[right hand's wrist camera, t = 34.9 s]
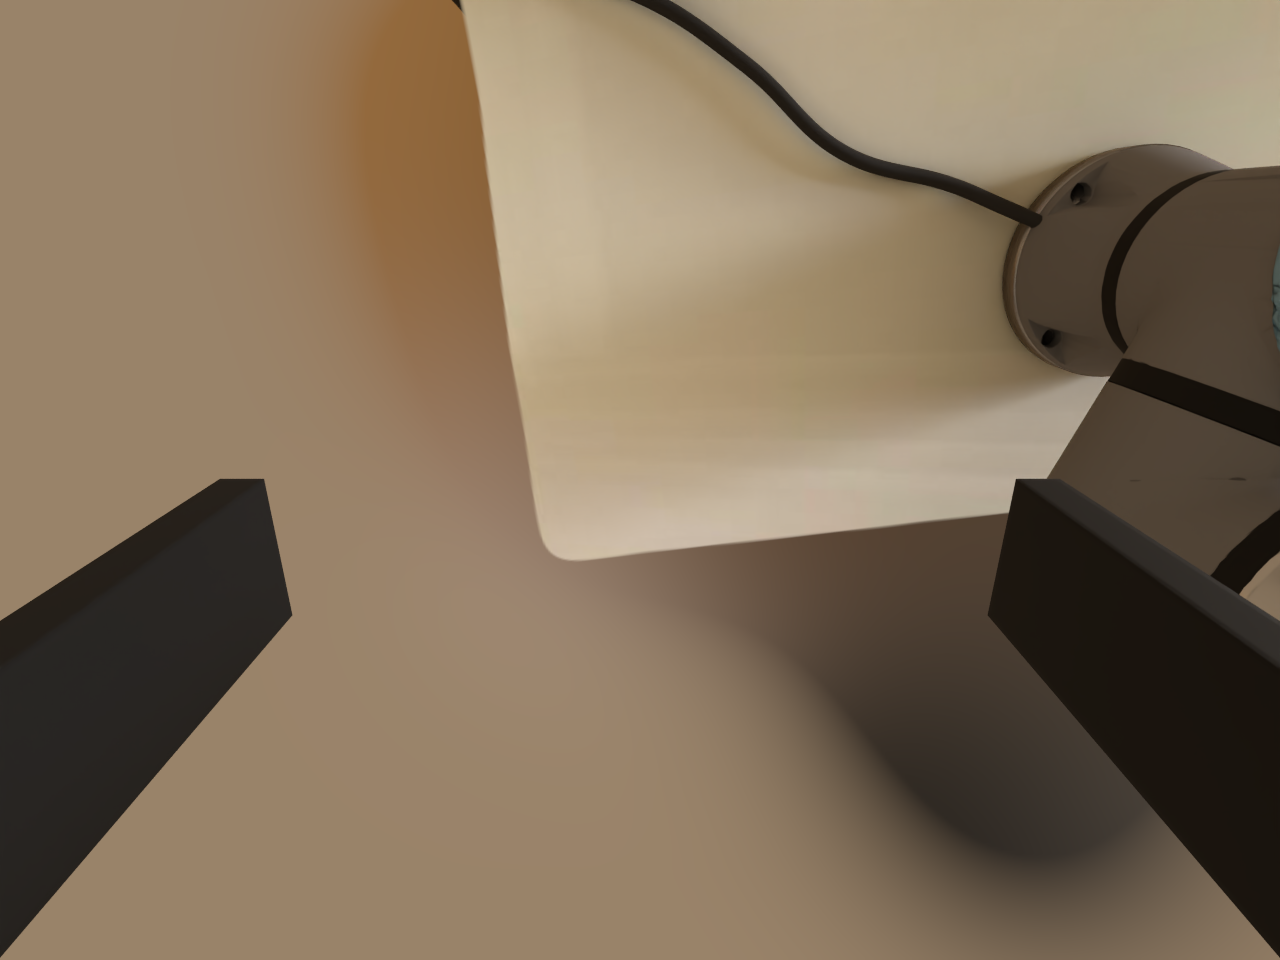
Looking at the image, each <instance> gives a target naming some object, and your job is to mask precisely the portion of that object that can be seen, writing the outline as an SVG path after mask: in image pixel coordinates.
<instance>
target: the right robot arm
mask: <svg viewBox="0 0 1280 960" xmlns="http://www.w3.org/2000/svg"><path fill="white" fill-rule="evenodd" d="M452 1H453V2H454V3H455V4H456V5H457V7H458V8H459V9H460V10H461V11H462V12H463V8H462V3H461V0H452ZM631 1H634V2H636V3H638V4H640V5H642V6H645V7H647V8H649V9H651V10H653V11H655V12H657V13H658V14H660V15H662V16H664V17H666V18H667V19H669V20H671V21H673V22H674V23H676V24H677V25H679V26H681V27H682V28H684V29H685V30H687V31H688V32H690V33H691V34H693V35H694V36H695V37H697V38H698V39H700V40H701V41H702V42H704V43H705V44H707V45H708V46H709V47H711V48H712V49H713V50H714V51H716V52H717V53H718V54H720V55H721V56H722V57H724V58H725V59H726V60H727V61H729V62H730V63H731V64H733V65H734V66H735V67H736V68H738V69H739V70H740V71H742V72H743V73H744V74H745V75H747V76H748V77H749V78H750V79H752V80H753V81H754V82H755V83H756V84H757V85H758V86H759V87H761V88H762V89H763V90H764V91H765V92H766V93H767V94H768V95H769V96H770V97H771V98H772V99H773V100H774V102H775V103H776V104H777V105H778V106H779V107H780V108H781V109H782V110H783V111H784V112H785V113H786V114H787V116H788V117H789V118H790V119H791V120H792V121H793V122H794V123H795V124H796V125H797V126H798V127H799V128H800V129H801V130H802V131H803V132H804V133H805V134H806V135H807V136H808V137H809V138H810V139H811V140H813V141H814V142H815V143H816V144H818V145H819V146H820V147H821V148H823V149H824V150H826V151H827V152H828V153H830V154H832V155H833V156H835V157H837V158H838V159H840V160H842V161H844V162H846V163H848V164H850V165H852V166H854V167H856V168H859V169H861V170H864V171H867V172H870V173H873V174H876V175H880V176H884V177H888V178H893V179H898V180H903V181H908V182H913V183H918V184H922V185H927V186H931V187H934V188H938V189H941V190H944V191H947V192H950V193H953V194H956V195H959V196H961V197H963V198H966V199H968V200H970V201H973V202H975V203H977V204H979V205H981V206H984V207H986V208H988V209H990V210H993V211H995V212H997V213H999V214H1002V215H1004V216H1006V217H1009V218H1011V219H1013V220H1015V221H1018V222H1020V223H1019V225H1018V227H1017V229H1016V231H1015V233H1014V236H1013V238H1012V241H1011V243H1010V246H1009V249H1008V252H1007V256H1006V260H1005V265H1004V272H1003V299H1004V305H1005V310H1006V313H1007V317H1008V319H1009V322H1010V324H1011V327H1012V328H1013V330H1014V332H1015V334H1016V335H1017V337H1018V338H1019V340H1020V341H1021V342H1022V343H1023V344H1024V346H1025V347H1026V348H1027V349H1028V350H1029V351H1031V352H1032V353H1033V354H1034V355H1035V356H1037V357H1038V358H1040V359H1041V360H1043V361H1045V362H1047V363H1049V364H1051V365H1054V366H1056V367H1059V368H1062V369H1064V370H1067V371H1070V372H1072V373H1076V374H1080V375H1086V376H1097V377H1106V376H1111V377H1110V378H1109V380H1108V381H1107V382H1106V384H1105V385H1104V387H1103V389H1102V390H1101V392H1100V394H1099V395H1098V397H1097V398H1096V400H1095V402H1094V403H1093V405H1092V406H1091V408H1090V410H1089V411H1088V413H1087V415H1086V416H1085V418H1084V419H1083V421H1082V423H1081V424H1080V426H1079V428H1078V429H1077V431H1076V432H1075V434H1074V436H1073V437H1072V439H1071V440H1070V442H1069V444H1068V445H1067V447H1066V449H1065V450H1064V452H1063V453H1062V455H1061V457H1060V458H1059V460H1058V461H1057V463H1056V465H1055V466H1054V468H1053V470H1052V471H1051V473H1050V474H1049V476H1048V478H1047V479H1016V482H1015V487H1014V491H1013V496H1012V501H1011V506H1010V511H1009V515H1008V520H1007V525H1006V530H1005V535H1004V539H1003V544H1002V549H1001V554H1000V559H999V563H998V568H997V573H996V578H995V582H994V587H993V592H992V597H991V602H990V607H989V611H988V616H989V617H990V618H991V620H992V621H993V622H994V623H995V624H996V625H997V627H998V628H999V629H1000V630H1001V631H1002V633H1003V634H1004V635H1005V636H1006V637H1007V638H1008V640H1009V641H1010V642H1011V643H1012V644H1013V645H1014V647H1015V648H1016V649H1017V650H1018V651H1019V652H1020V654H1021V655H1022V656H1023V657H1024V658H1025V659H1026V661H1027V662H1028V663H1029V664H1030V665H1031V667H1032V668H1033V669H1034V670H1035V671H1036V672H1037V674H1038V675H1039V676H1040V677H1041V678H1042V679H1043V681H1044V682H1045V683H1046V684H1047V685H1048V686H1049V688H1050V689H1051V690H1052V691H1053V692H1054V693H1055V695H1056V696H1057V697H1058V698H1059V699H1060V700H1061V702H1062V703H1063V704H1064V705H1065V706H1066V707H1067V709H1068V710H1069V711H1070V712H1071V713H1072V715H1073V716H1074V717H1075V718H1076V719H1077V720H1078V722H1079V723H1080V724H1081V725H1082V726H1083V727H1084V729H1085V730H1086V731H1087V732H1088V733H1089V734H1090V736H1091V737H1092V738H1093V739H1094V740H1095V742H1096V743H1097V744H1098V745H1099V746H1100V747H1101V749H1102V750H1103V751H1104V752H1105V753H1106V754H1107V755H1108V757H1109V758H1110V759H1111V760H1112V761H1113V763H1114V764H1115V765H1116V766H1117V767H1118V768H1119V770H1120V771H1121V772H1122V773H1123V774H1124V775H1125V777H1126V778H1127V779H1128V780H1129V781H1130V783H1131V784H1132V785H1133V786H1134V787H1135V788H1136V790H1137V791H1138V792H1139V793H1140V794H1141V795H1142V797H1143V798H1144V799H1145V800H1146V801H1147V802H1148V804H1149V805H1150V806H1151V807H1152V808H1153V809H1154V811H1155V812H1156V813H1157V814H1158V815H1159V817H1160V818H1161V819H1162V820H1163V821H1164V822H1165V824H1166V825H1167V826H1168V827H1169V828H1170V829H1171V831H1172V832H1173V833H1174V834H1175V835H1176V836H1177V838H1178V839H1179V840H1180V841H1181V842H1182V843H1183V845H1184V846H1185V847H1186V848H1187V849H1188V851H1189V852H1190V853H1191V854H1192V855H1193V856H1194V858H1195V859H1196V860H1197V861H1198V862H1199V863H1200V865H1201V866H1202V867H1203V868H1204V869H1205V870H1206V872H1207V873H1208V874H1209V875H1210V876H1211V877H1212V879H1213V880H1214V881H1215V882H1216V883H1217V884H1218V886H1219V887H1220V888H1221V889H1222V890H1223V892H1224V893H1225V894H1226V895H1227V896H1228V897H1229V899H1230V900H1231V901H1232V902H1233V903H1234V904H1235V906H1236V907H1237V908H1238V909H1239V910H1240V911H1241V913H1242V914H1243V915H1244V916H1245V917H1246V918H1247V920H1248V921H1249V922H1250V923H1251V924H1252V925H1253V927H1254V928H1255V929H1256V930H1257V931H1258V933H1259V934H1260V935H1261V936H1262V937H1263V938H1264V940H1265V941H1266V942H1267V943H1268V944H1269V945H1270V947H1271V948H1272V949H1273V950H1274V951H1275V952H1276V954H1277V955H1278V956H1279V957H1280V166H1270V167H1257V168H1244V169H1232V168H1230V167H1228V166H1226V165H1224V164H1221V163H1219V162H1217V161H1215V160H1213V159H1211V158H1209V157H1206V156H1204V155H1202V154H1200V153H1197V152H1195V151H1192V150H1190V149H1187V148H1183V147H1180V146H1175V145H1168V144H1147V145H1138V146H1130V147H1123V148H1117V149H1113V150H1109V151H1106V152H1103V153H1100V154H1097V155H1095V156H1092V157H1090V158H1088V159H1086V160H1084V161H1082V162H1080V163H1079V164H1077V165H1075V166H1073V167H1072V168H1070V169H1069V170H1067V171H1066V172H1065V173H1063V174H1062V175H1060V176H1059V177H1058V178H1057V179H1056V180H1054V181H1053V182H1052V183H1051V184H1050V185H1049V186H1048V187H1047V188H1046V189H1045V190H1044V191H1043V192H1042V193H1041V194H1040V195H1039V196H1038V198H1037V199H1036V200H1035V201H1034V202H1033V204H1032V205H1031V206H1030V208H1029V209H1027V208H1024V207H1022V206H1020V205H1017V204H1015V203H1013V202H1010V201H1008V200H1006V199H1004V198H1001V197H999V196H997V195H995V194H992V193H990V192H988V191H986V190H983V189H981V188H979V187H977V186H974V185H972V184H970V183H967V182H965V181H962V180H959V179H956V178H953V177H950V176H947V175H944V174H940V173H937V172H933V171H929V170H924V169H920V168H915V167H910V166H905V165H900V164H895V163H891V162H887V161H883V160H879V159H876V158H873V157H870V156H868V155H865V154H863V153H860V152H858V151H856V150H854V149H852V148H850V147H848V146H846V145H845V144H843V143H842V142H840V141H838V140H837V139H835V138H834V137H833V136H831V135H830V134H828V133H827V132H826V131H825V130H824V129H822V128H821V127H820V126H819V125H818V124H817V123H816V122H815V121H813V120H812V118H811V117H810V116H809V115H808V114H807V113H806V112H805V111H804V110H803V109H802V108H801V107H800V106H799V105H798V104H797V103H796V102H795V100H794V99H793V98H792V97H791V96H790V95H789V94H788V93H787V92H786V91H785V90H784V88H783V87H782V86H781V85H780V84H779V83H778V82H777V81H776V80H775V79H774V78H773V77H772V76H771V75H770V74H769V73H767V72H766V71H765V70H764V69H763V68H762V67H761V66H760V65H758V64H757V63H756V62H755V61H753V60H752V59H751V58H750V57H748V56H747V55H746V54H745V53H743V52H742V51H741V50H739V49H738V48H737V47H736V46H734V45H733V44H732V43H731V42H729V41H728V40H727V39H725V38H724V37H723V36H721V35H720V34H719V33H718V32H716V31H715V30H714V29H712V28H711V27H710V26H708V25H707V24H705V23H704V22H703V21H701V20H700V19H698V18H697V17H695V16H694V15H692V14H691V13H689V12H688V11H686V10H685V9H683V8H682V7H680V6H678V5H676V4H675V3H673V2H671V1H670V0H631ZM463 13H464V12H463ZM291 616H292V611H291V606H290V602H289V597H288V592H287V587H286V582H285V578H284V573H283V568H282V563H281V559H280V554H279V549H278V544H277V539H276V535H275V530H274V525H273V520H272V516H271V511H270V506H269V501H268V496H267V491H266V487H265V482H264V479H219V480H218V481H216V482H215V483H213V484H211V485H210V486H208V487H207V488H205V489H204V490H202V491H201V492H199V493H197V494H196V495H194V496H193V497H191V498H190V499H188V500H187V501H185V502H184V503H182V504H180V505H179V506H177V507H176V508H174V509H173V510H171V511H170V512H168V513H167V514H165V515H164V516H162V517H160V518H159V519H157V520H156V521H154V522H153V523H151V524H150V525H148V526H146V527H145V528H143V529H142V530H140V531H139V532H137V533H136V534H134V535H132V536H131V537H129V538H128V539H126V540H125V541H123V542H122V543H120V544H119V545H117V546H115V547H114V548H112V549H111V550H109V551H108V552H106V553H105V554H103V555H101V556H100V557H98V558H97V559H95V560H94V561H92V562H91V563H89V564H88V565H86V566H84V567H83V568H81V569H80V570H78V571H77V572H75V573H74V574H72V575H71V576H69V577H68V578H66V579H64V580H63V581H61V582H60V583H58V584H57V585H55V586H54V587H52V588H51V589H49V590H47V591H46V592H44V593H43V594H41V595H40V596H38V597H36V598H35V599H33V600H32V601H30V602H29V603H27V604H26V605H24V606H23V607H21V608H19V609H18V610H16V611H15V612H13V613H12V614H10V615H9V616H7V617H5V618H4V619H2V620H1V621H0V957H1V956H2V955H3V954H4V952H5V951H6V950H7V949H8V948H9V947H10V945H11V944H12V943H13V942H14V941H15V939H16V938H17V937H18V936H19V935H20V934H21V932H22V931H23V930H24V929H25V928H26V927H27V926H28V924H29V923H30V922H31V921H32V920H33V918H34V917H35V916H36V915H37V914H38V913H39V911H40V910H41V909H42V908H43V907H44V906H45V904H46V903H47V902H48V901H49V900H50V899H51V897H52V896H53V895H54V894H55V893H56V892H57V890H58V889H59V888H60V887H61V886H62V884H63V883H64V882H65V881H66V880H67V879H68V877H69V876H70V875H71V874H72V873H73V872H74V870H75V869H76V868H77V867H78V866H79V865H80V863H81V862H82V861H83V860H84V859H85V858H86V856H87V855H88V854H89V853H90V852H91V851H92V849H93V848H94V847H95V846H96V845H97V843H98V842H99V841H100V840H101V839H102V838H103V836H104V835H105V834H106V833H107V832H108V831H109V829H110V828H111V827H112V826H113V825H114V824H115V822H116V821H117V820H118V819H119V818H120V816H121V815H122V814H123V813H124V812H125V811H126V809H127V808H128V807H129V806H130V805H131V804H132V802H133V801H134V800H135V799H136V798H137V797H138V795H139V794H140V793H141V792H142V791H143V790H144V788H145V787H146V786H147V785H148V784H149V783H150V781H151V780H152V779H153V778H154V777H155V775H156V774H157V773H158V772H159V771H160V770H161V768H162V767H163V766H164V765H165V764H166V762H167V761H168V760H169V759H170V758H171V757H172V756H173V754H174V753H175V752H176V751H177V750H178V749H179V747H180V746H181V745H182V744H183V743H184V742H185V740H186V739H187V738H188V737H189V736H190V734H191V733H192V732H193V731H194V730H195V729H196V727H197V726H198V725H199V724H200V723H201V722H202V720H203V719H204V718H205V717H206V716H207V715H208V713H209V712H210V711H211V710H212V709H213V708H214V706H215V705H216V704H217V703H218V702H219V700H220V699H221V698H222V697H223V696H224V695H225V693H226V692H227V691H228V690H229V689H230V688H231V686H232V685H233V684H234V683H235V682H236V681H237V679H238V678H239V677H240V676H241V675H242V673H243V672H244V671H245V670H246V669H247V668H248V667H249V665H250V664H251V663H252V662H253V661H254V659H255V658H256V657H257V656H258V655H259V654H260V652H261V651H262V650H263V649H264V648H265V647H266V645H267V644H268V643H269V642H270V641H271V640H272V638H273V637H274V636H275V635H276V634H277V632H278V631H279V630H280V629H281V628H282V627H283V625H284V624H285V623H286V622H287V621H288V620H289V618H290V617H291Z"/></svg>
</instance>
